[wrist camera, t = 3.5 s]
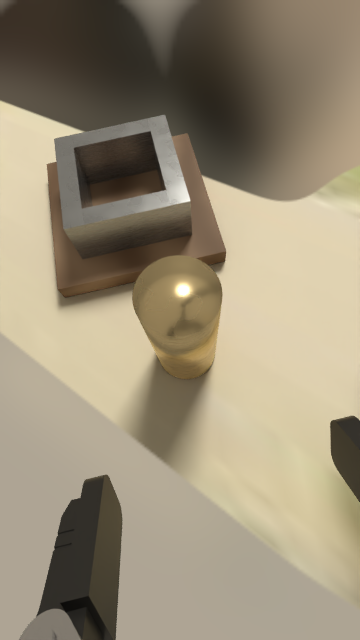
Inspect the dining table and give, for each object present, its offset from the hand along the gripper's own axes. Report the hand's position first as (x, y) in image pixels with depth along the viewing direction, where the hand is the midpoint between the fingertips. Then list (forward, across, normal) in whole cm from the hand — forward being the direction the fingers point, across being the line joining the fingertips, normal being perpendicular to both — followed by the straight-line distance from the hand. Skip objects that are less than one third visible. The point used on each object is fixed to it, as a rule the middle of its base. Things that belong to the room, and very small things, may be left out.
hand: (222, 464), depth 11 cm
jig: (+24, +2, -7) cm, 25 cm away
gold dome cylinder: (+14, 0, +3) cm, 14 cm away
